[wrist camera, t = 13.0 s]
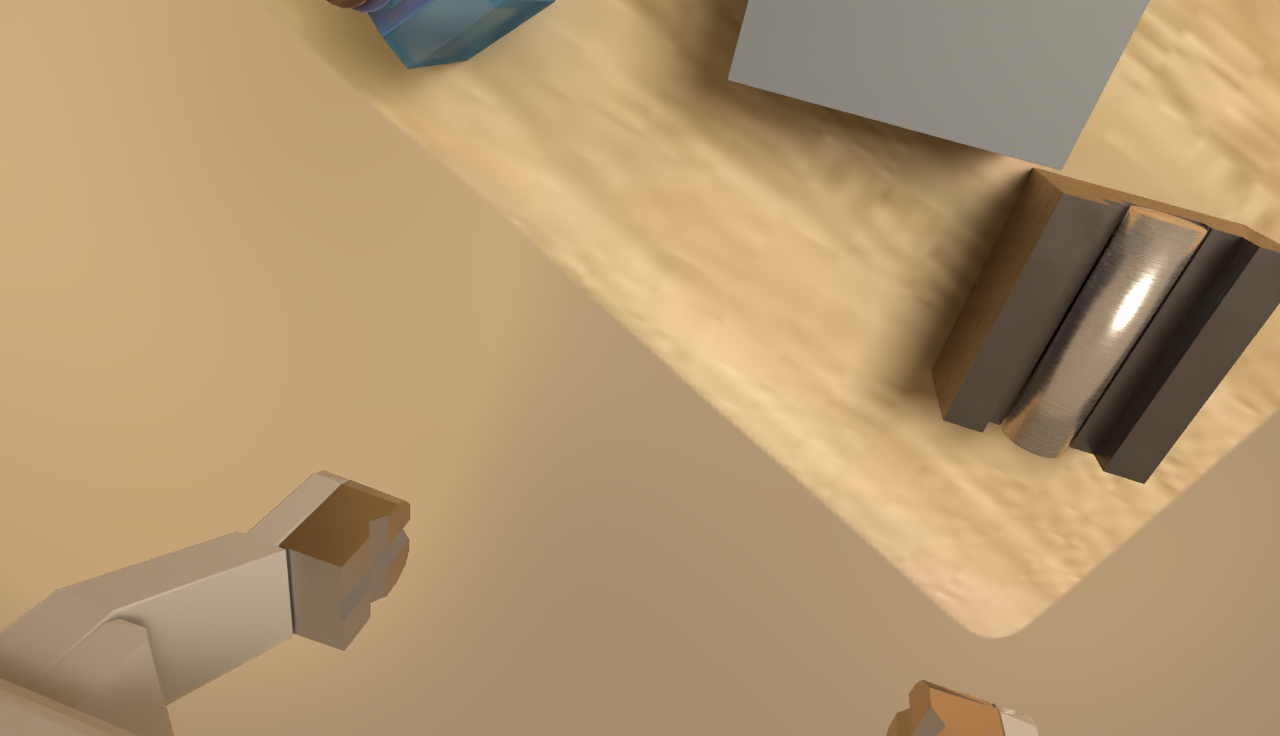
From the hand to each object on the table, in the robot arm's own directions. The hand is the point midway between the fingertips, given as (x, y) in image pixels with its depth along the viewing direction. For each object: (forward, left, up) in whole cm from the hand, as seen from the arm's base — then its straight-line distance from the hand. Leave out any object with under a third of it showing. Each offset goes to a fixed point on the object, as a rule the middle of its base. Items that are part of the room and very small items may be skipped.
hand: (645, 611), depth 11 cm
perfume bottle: (-6, -19, -32) cm, 37 cm away
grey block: (-9, +3, -31) cm, 33 cm away
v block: (+2, +16, -31) cm, 35 cm away
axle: (+2, +16, -28) cm, 33 cm away
